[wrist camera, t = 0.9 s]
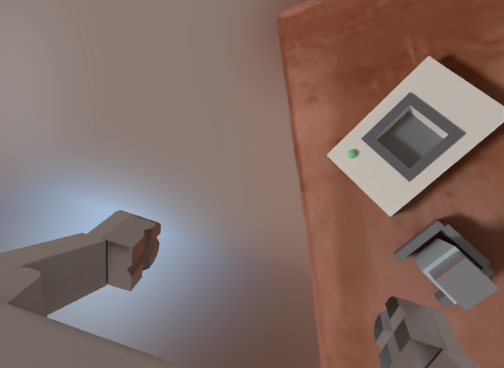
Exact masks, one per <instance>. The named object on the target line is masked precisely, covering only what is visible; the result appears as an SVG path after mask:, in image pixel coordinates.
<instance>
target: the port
mask: <svg viewBox="0 0 504 368" xmlns="http://www.w3.org/2000/svg"><path fill="white" fill-rule="evenodd" d="M503 122H504V106H503V105H501V104H500V103H498V102H497V101H495V100H494V99H492V98H491V97H489V96H488V95H486V94H485V93H483V92H482V91H480V90H479V89H477V88H476V87H474V86H473V85H471V84H470V83H468V82H467V81H465V80H464V79H462V78H461V77H459V76H458V75H456V74H455V73H453V72H452V71H450V70H449V69H447V68H446V67H444V66H443V65H441V64H440V63H439V62H437V61H436V60H434V59H433V58H431V57H430V56H428V57H427V58H426V59H425V60H424V61H423V62H422V63H421V64H420V65H419V66H418V67H417V68H416V69H415V70H414V71H413V72H412V73H411V74H410V75H409V76H408V77H406V78H405V79H404V80H403V81H402V82H401V83H400V84H399V85H398V86H397V87H396V88H395V89H394V90H393V91H392V92H391V93H390V94H389V95H388V96H387V97H386V98H385V99H384V100H383V101H382V102H381V103H380V104H379V105H378V106H377V107H376V108H375V109H374V110H373V111H372V112H370V113H369V114H368V115H367V116H366V117H365V118H364V119H363V120H362V121H361V122H360V123H359V124H358V125H357V126H356V127H355V128H354V129H353V130H352V131H351V132H350V133H349V134H348V135H347V136H346V137H345V138H344V139H343V140H342V141H341V142H340V143H339V144H338V145H337V146H335V147H334V148H333V149H332V150H331V151H330V152H329V153H328V154H327V156H328V157H329V158H330V159H331V160H332V161H333V162H334V163H335V164H336V165H337V166H338V167H339V168H340V169H341V170H342V171H343V172H344V173H345V174H347V175H348V176H349V177H350V178H351V179H352V180H353V181H354V182H355V183H356V184H357V185H358V186H359V187H360V188H361V189H362V190H363V191H364V192H365V193H366V194H367V195H368V196H369V197H370V198H371V199H372V200H373V201H374V202H375V203H376V204H377V205H378V206H380V207H381V208H382V209H383V210H384V211H385V212H386V213H387V214H388V215H389V216H390V217H391V216H392V215H393V214H395V213H396V212H397V211H398V210H399V209H401V208H402V207H403V206H404V205H405V204H407V203H408V202H409V201H410V200H411V199H413V198H414V197H415V196H416V195H417V194H419V193H420V192H421V191H422V190H423V189H425V188H426V187H427V186H428V185H429V184H431V183H432V182H433V181H434V180H435V179H436V178H438V177H439V176H440V175H441V174H442V173H444V172H445V171H446V170H447V169H448V168H450V167H451V166H452V165H453V164H454V163H456V162H457V161H458V160H459V159H460V158H462V157H463V156H464V155H465V154H466V153H468V152H469V151H470V150H471V149H472V148H474V147H475V146H476V145H477V144H478V143H480V142H481V141H482V140H483V139H484V138H485V137H487V136H488V135H489V134H490V133H491V132H493V131H494V130H495V129H496V128H497V127H499V126H500V125H501V124H502V123H503Z"/></svg>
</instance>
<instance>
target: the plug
mask: <svg viewBox="0 0 504 368" xmlns="http://www.w3.org/2000/svg"><path fill="white" fill-rule="evenodd" d="M413 258H414V260H415V261H416V263H417V264H418V266H419V267H420V269H421V270H422V272H423V273H424V274H425V275H426V276H427V277H428V278H429V279H430V280H431V281H432V282H433V283H434V284H435V285H436V286H437V287H438V288H439V289H440V290H441V291H442V292H443V293H444V294H445V295H446V296H447V297H448V298H449V299H450V300H451V301H452V302H453V303H454V304H457V303H458V304H459V305H460V306H461V307H462V308H463V309H464V310H465V311H467V310H469V309H470V308H472V307H473V306H475V305H476V304H478V303H479V302H481V301H482V300H484V299H485V298H487V297H488V296H490V295H491V294H492V293H494V292H495V291H497V290H498V289H499V288H498V287H497V286H495V285H494V284H493V283H492V282H491V281H490V280H491V279H490V278H489V277H488V276H487V275H485V274H484V273H483V272H482V271H481V270H480V269H479V268H478V267H477V266H476V265H475V264H474V263H472V262H471V261H470V260H469V259H468V258H467V257H466V256H465V255H464V254H463V253H462V252H461V251H459V250H458V249H457V248H456V247H455V246H453V245H451V244H449V243H447V242H445V241H443V240H441V239H438V238H437V239H435V240H434V241H433V242H431V243H430V244H429V245H428V246H426V247H425V248H424V249H422V250H421V251H420V252H419V253H417V254H416V255H415V256H413Z"/></svg>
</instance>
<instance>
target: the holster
mask: <svg viewBox="0 0 504 368" xmlns="http://www.w3.org/2000/svg"><path fill="white" fill-rule="evenodd" d="M439 231H441V232H442V233H443V234H444V235H445V236H446V237H447V238H448V239H450V240H451V241H452V242H453V243H454V244H455V245H456V246H457V247H458V248H459V249H460V250H462V251H463V252H464V253H465V254H466V255H467V256H468V257H469V258H470V259H471V260H472V261H474V262H475V263H476V264H475V265H476V266H477V267H478V268H479V269H480V270H481V271H482V272H483V273H484V274H485V275H487V276H488V277H490V276H492V275H493V274H495V272H494V271H493V270H492V269H491V268H490V267H489V266H488V265H489V264H491V262H490V261H489V260H488V259H487V258H486V257H485V256H483V255H482V254H481V253H480V252H479V251H478V250H477V249H476V248H474V247H473V246H472V245H471V244H470V243H469V242H468V241H467V240H466V239H464V238H463V237H462V236H461V235H460V234H459V233H458V232H457V231H456V230H454V229H453V228H452V227H451V226H450V225H449V224H445V223H443V224H441V223H440V222H439V221H437V220H434V221H432V222H431V223H430V224H429V225H427V226H426V227H425V228H424V229H422V230H421V231H420V232H419V233H417V234H416V235H415V236H414V237H412V238H411V239H410V240H408V241H407V242H406V243H405V244H403V245H402V246H401V247H400V248H398V249H397V250H396V251H395V252H393V253H394V256H395V257H396V258H397V259H398V260H399V261H400V262H401V261H402V260H403V259H405V258H406V257H407V256H408V255H410V254H411V253H412V252H413V251H415V250H416V249H417V248H419V247H420V246H421V245H422V244H424V243H425V242H426V241H428V240H429V239H430V238H431V237H433V236H434V235H435V234H437V233H438V232H439ZM434 295H435V296H436V298H437V300H438V301H439V302H440V303H441V304H442V305H443V306H444V307H445V308H446V307H447V306H449V305H450V304H451V303H453V302H452V301H451V300H450V299H449V298H448V297H447V296H446V295H445V294H444V293H443V292H442V291H441V290H439V291H438V292H436V293H435V294H434Z"/></svg>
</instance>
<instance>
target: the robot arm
mask: <svg viewBox="0 0 504 368" xmlns="http://www.w3.org/2000/svg"><path fill="white" fill-rule="evenodd" d="M160 230H161V225H160V224H159V223H158V222H155V221H152V220H149V219H146V218H143V217H140V216H137V215H134V214H131V213H128V212H125V211H122V210H121V211H116V212H115V213H114V214H112V215H111V216H110V217H108V218H107V219H106V220H105V221H103V222H102V223H101V224H99V225H98V226H97V227H95V228H94V229H93V230H91V231H90V232H89V233H88V234H84V233H80V234H76V235H72V236H68V237H64V238H60V239H56V240H52V241H48V242H44V243H40V244H36V245H32V246H28V247H24V248H20V249H15V250H11V251H8V252H3V253H0V368H187V367H184V366H181V365H179V364H176V363H173V362H170V361H167V360H165V359H162V358H159V357H156V356H153V355H151V354H148V353H145V352H142V351H139V350H136V349H133V348H131V347H128V346H125V345H122V344H120V343H117V342H114V341H111V340H108V339H106V338H103V337H100V336H97V335H94V334H92V333H89V332H86V331H83V330H80V329H78V328H75V327H72V326H69V325H66V324H63V323H61V322H58V321H55V320H52V319H50V318H47V315H49V314H51V313H53V312H55V311H57V310H58V309H61V308H63V307H64V306H66V305H68V304H70V303H72V302H74V301H76V300H78V299H80V298H82V297H84V296H86V295H88V294H90V293H92V292H94V291H96V290H98V289H100V288H102V287H104V286H106V284H108V285H112V286H115V287H118V288H121V289H125V290H128V291H131V290H132V289H133V288H134V287H135V285H136V284H137V283H138V282H139V280H140V279H141V278H142V271H143V270H146V269H148V268H150V266H151V265H152V264H153V262H154V260H155V258H156V256H157V253H158V250H159V241H158V240H157V238H156V237H157V236H158V235H159V234H160ZM385 305H386V309H387V310H386V311H383V312H381V313H379V315H378V317H377V319H376V321H375V325H374V338H375V343H376V344H377V345H378V346H379V348H380V349H381V350H382V351H381V352H380V354H379V355H378V357H379V361H380V365H381V368H481V367H480V366H479V365H478V364H477V363H476V362H475V361H474V360H473V359H470V358H467V357H466V355H465V353H464V351H463V349H462V347H461V345H460V343H459V342H458V340H457V338H456V336H455V334H454V332H453V330H452V328H451V326H450V324H449V322H448V320H447V318H446V316H445V315H444V313H443V312H442V311H441V310H439V309H436V308H432V307H429V306H425V305H420V304H417V303H414V302H411V301H407V300H404V299H401V298H398V297H394V296H391V297H390V298H389V299H388V300H387V302H386V303H385Z"/></svg>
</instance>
